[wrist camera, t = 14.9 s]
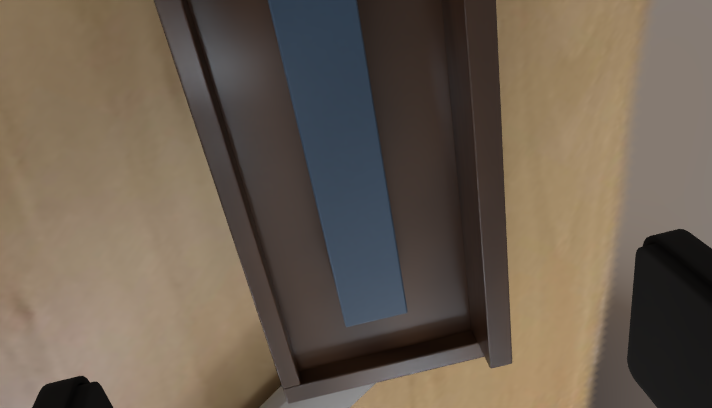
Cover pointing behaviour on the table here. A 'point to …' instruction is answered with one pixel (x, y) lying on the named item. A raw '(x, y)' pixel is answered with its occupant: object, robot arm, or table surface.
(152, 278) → the table surface
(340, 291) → the stick
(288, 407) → the tube
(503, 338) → the shelf rack
